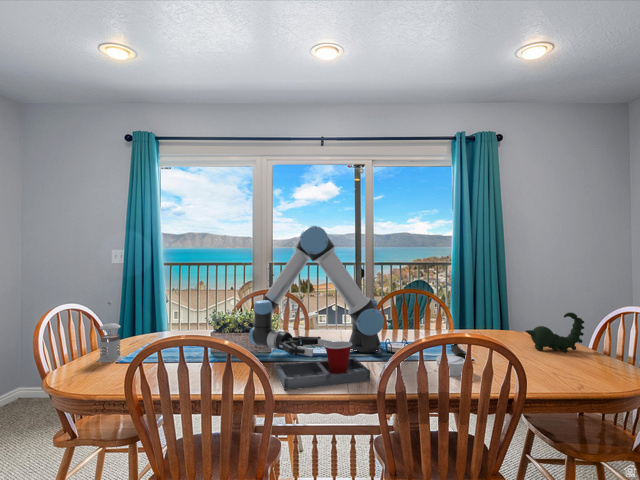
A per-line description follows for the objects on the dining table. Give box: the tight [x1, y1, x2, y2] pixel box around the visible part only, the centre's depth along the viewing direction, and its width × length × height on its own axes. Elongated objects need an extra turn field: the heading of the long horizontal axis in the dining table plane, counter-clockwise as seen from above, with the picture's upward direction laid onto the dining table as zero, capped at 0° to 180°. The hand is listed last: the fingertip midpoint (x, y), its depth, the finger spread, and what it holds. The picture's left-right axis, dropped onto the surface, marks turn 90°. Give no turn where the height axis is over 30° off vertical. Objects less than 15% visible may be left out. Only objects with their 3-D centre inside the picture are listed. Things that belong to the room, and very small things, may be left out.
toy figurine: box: [525, 312, 585, 353], centre depth 190 cm, size 9×19×25 cm
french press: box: [97, 300, 124, 363], centre depth 178 cm, size 10×12×25 cm
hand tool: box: [450, 343, 467, 359], centre depth 184 cm, size 19×4×5 cm, turn 172°
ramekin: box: [435, 354, 465, 377], centre depth 161 cm, size 11×11×5 cm
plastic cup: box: [324, 340, 352, 374], centre depth 156 cm, size 11×11×12 cm
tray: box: [275, 357, 371, 391], centre depth 155 cm, size 32×16×4 cm, turn 106°
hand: (322, 348), depth 162 cm, fingers open, 13 cm apart
